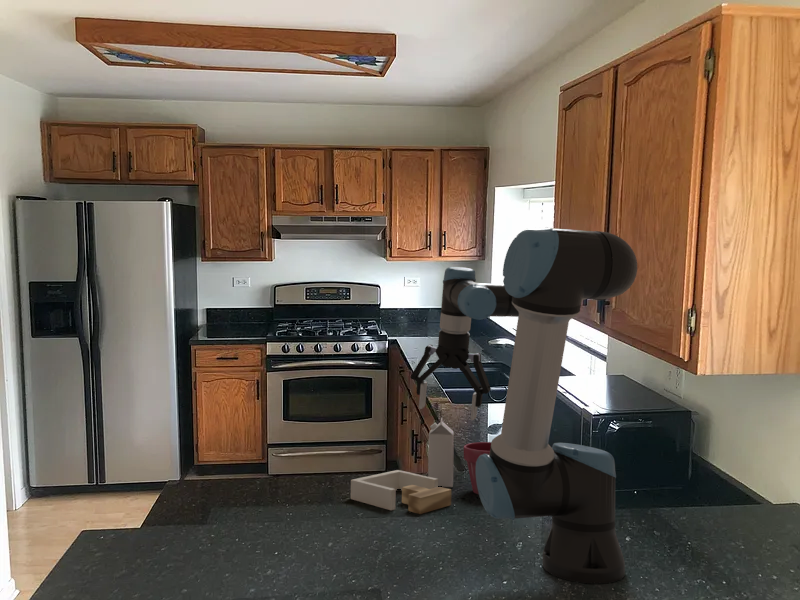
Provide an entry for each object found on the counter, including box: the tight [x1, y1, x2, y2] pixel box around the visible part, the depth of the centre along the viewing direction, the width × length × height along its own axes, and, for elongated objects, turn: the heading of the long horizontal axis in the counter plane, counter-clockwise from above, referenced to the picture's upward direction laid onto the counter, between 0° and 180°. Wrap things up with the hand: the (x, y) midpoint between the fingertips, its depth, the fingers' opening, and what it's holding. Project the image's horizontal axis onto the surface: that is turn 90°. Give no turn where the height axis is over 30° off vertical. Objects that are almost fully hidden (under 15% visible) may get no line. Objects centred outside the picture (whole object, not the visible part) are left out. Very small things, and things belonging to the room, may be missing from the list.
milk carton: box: [427, 417, 455, 488], centre depth 190 cm, size 7×7×19 cm
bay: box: [350, 469, 438, 511], centre depth 174 cm, size 15×18×5 cm
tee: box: [401, 485, 452, 515], centre depth 167 cm, size 10×12×4 cm
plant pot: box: [463, 441, 492, 495], centre depth 182 cm, size 14×14×13 cm
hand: (447, 412), depth 163 cm, fingers open, 13 cm apart
